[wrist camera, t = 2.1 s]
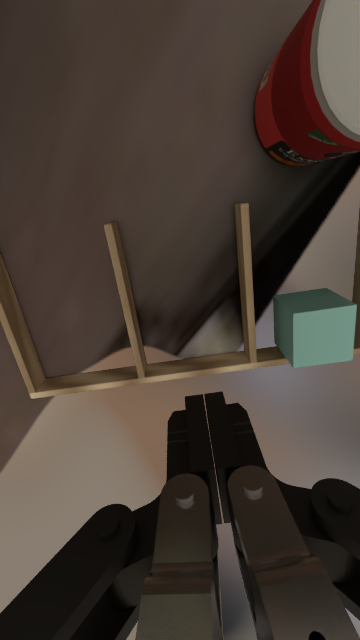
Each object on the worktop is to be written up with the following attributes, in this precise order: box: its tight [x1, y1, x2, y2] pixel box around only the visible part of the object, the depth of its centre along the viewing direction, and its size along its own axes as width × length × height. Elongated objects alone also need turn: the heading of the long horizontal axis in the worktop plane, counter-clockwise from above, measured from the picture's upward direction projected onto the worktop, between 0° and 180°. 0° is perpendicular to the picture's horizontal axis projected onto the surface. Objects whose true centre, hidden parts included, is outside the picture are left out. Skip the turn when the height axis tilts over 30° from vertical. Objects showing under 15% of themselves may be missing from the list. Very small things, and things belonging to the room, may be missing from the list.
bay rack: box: [0, 203, 360, 399], centre depth 27 cm, size 32×15×2 cm, turn 98°
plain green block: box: [273, 288, 357, 368], centre depth 27 cm, size 5×5×5 cm
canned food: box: [255, 0, 360, 166], centre depth 17 cm, size 8×8×11 cm
